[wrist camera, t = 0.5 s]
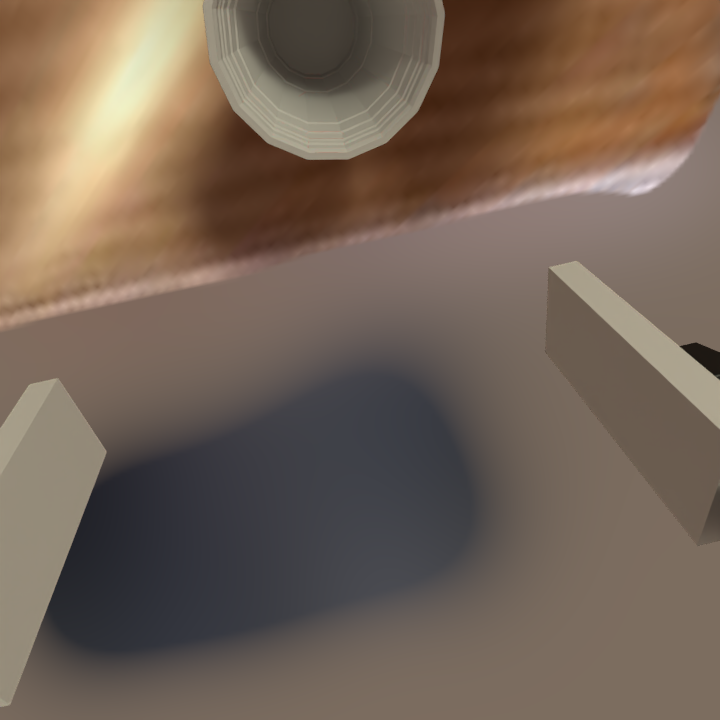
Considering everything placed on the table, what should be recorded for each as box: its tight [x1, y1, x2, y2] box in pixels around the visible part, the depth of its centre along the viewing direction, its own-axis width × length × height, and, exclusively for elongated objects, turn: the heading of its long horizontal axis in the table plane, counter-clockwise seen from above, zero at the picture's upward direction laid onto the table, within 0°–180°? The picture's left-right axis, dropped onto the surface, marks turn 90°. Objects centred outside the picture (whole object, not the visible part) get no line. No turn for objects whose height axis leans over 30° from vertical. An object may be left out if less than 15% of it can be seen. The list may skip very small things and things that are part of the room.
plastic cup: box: [203, 0, 445, 160], centre depth 28 cm, size 11×11×12 cm
